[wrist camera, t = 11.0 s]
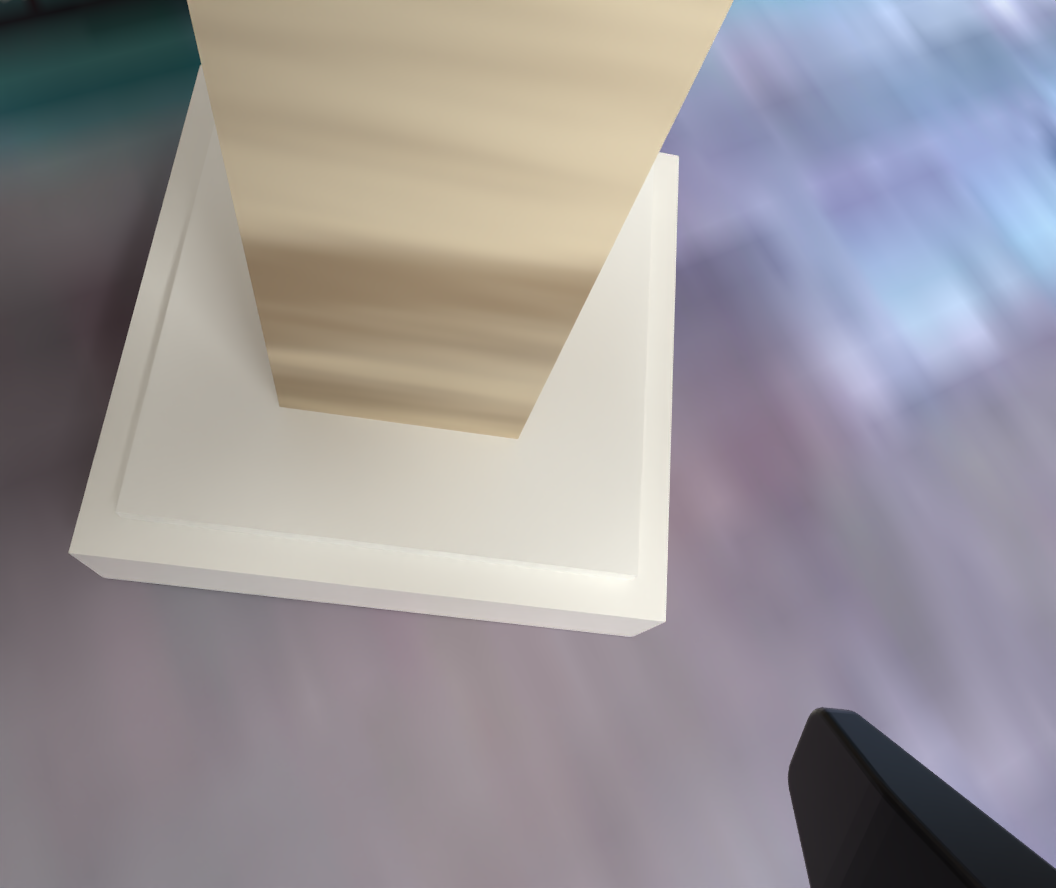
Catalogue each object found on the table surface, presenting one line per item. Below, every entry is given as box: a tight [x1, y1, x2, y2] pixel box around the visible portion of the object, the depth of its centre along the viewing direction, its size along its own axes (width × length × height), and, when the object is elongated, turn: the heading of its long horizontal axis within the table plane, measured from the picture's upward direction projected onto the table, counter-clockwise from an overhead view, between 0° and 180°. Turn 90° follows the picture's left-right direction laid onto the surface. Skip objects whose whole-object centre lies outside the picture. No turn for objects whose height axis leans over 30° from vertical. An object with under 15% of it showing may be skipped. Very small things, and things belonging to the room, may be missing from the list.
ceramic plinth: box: [69, 65, 679, 637], centre depth 21 cm, size 12×12×3 cm
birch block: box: [187, 0, 733, 439], centre depth 13 cm, size 5×5×14 cm
